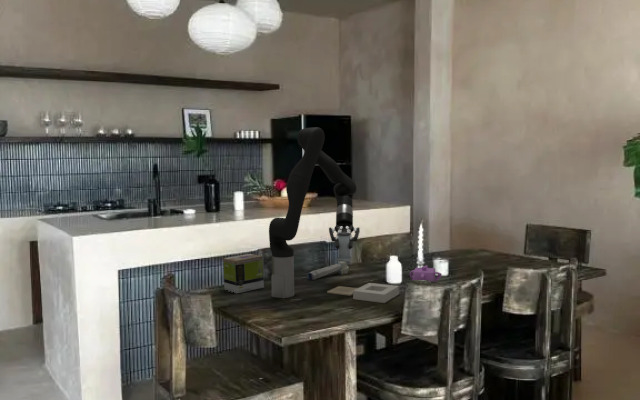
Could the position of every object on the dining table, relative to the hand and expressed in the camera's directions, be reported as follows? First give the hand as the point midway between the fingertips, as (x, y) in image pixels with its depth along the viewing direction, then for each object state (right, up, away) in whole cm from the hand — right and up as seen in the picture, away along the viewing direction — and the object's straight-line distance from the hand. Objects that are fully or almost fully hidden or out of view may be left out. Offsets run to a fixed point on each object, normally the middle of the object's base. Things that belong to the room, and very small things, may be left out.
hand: (344, 248), depth 260 cm
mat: (0, -19, +4) cm, 20 cm away
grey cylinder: (-6, -17, +34) cm, 39 cm away
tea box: (-44, -19, +10) cm, 49 cm away
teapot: (+36, -19, +7) cm, 41 cm away
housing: (+13, -20, -6) cm, 25 cm away
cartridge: (0, -5, +2) cm, 6 cm away
